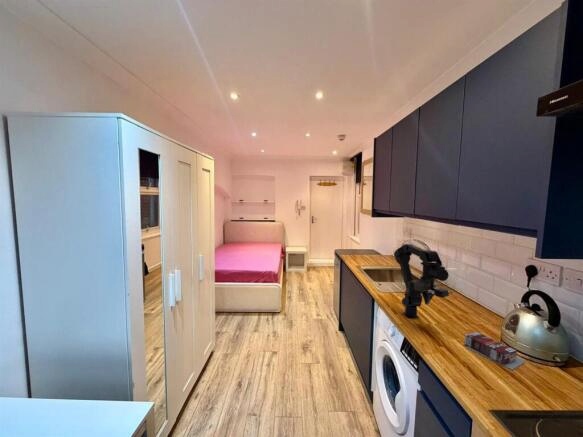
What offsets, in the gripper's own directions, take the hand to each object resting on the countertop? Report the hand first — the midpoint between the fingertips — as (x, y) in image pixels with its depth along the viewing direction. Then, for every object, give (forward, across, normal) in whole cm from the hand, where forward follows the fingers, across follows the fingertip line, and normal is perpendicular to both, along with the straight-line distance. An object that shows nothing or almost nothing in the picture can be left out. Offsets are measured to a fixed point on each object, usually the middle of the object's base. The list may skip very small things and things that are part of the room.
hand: (426, 304), depth 132 cm
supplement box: (+9, +19, +4) cm, 22 cm away
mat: (+12, +29, +4) cm, 32 cm away
